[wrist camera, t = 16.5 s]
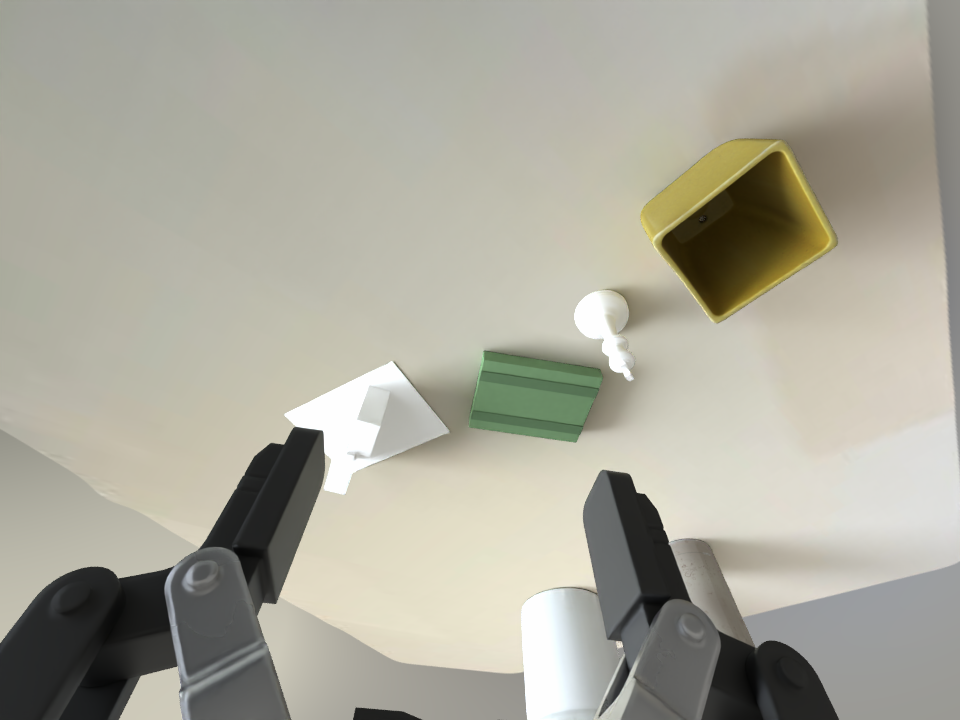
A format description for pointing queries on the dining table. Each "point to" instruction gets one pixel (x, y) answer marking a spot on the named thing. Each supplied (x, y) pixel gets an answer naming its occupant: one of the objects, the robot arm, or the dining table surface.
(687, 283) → the flower pot
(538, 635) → the utensil holder
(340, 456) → the napkin holder
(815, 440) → the dining table surface
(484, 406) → the green flat rectangular block
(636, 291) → the dining table surface
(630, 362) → the chess piece
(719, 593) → the thermos bottle
